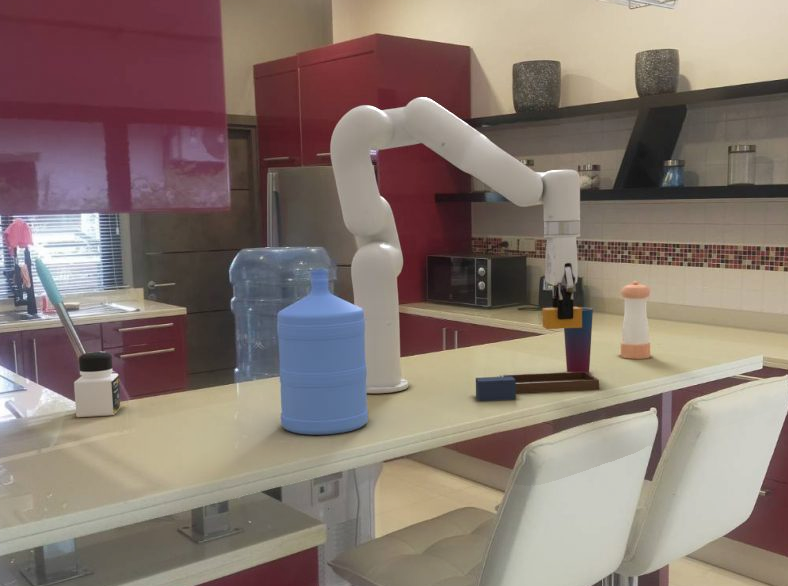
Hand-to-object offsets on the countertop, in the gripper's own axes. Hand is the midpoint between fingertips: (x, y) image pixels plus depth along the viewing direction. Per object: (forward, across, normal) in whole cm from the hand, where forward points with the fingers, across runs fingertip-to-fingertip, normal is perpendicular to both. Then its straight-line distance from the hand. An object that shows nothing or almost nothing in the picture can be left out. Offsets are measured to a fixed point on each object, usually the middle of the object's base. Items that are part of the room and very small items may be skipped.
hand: (562, 316), depth 181 cm
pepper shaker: (+15, -34, +27) cm, 46 cm away
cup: (+15, -15, +7) cm, 23 cm away
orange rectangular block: (+2, 0, 0) cm, 2 cm away
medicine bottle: (+15, +5, -95) cm, 96 cm away
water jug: (+15, +23, -50) cm, 57 cm away
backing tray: (+15, -2, -3) cm, 16 cm away
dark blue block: (+15, +7, -16) cm, 23 cm away
